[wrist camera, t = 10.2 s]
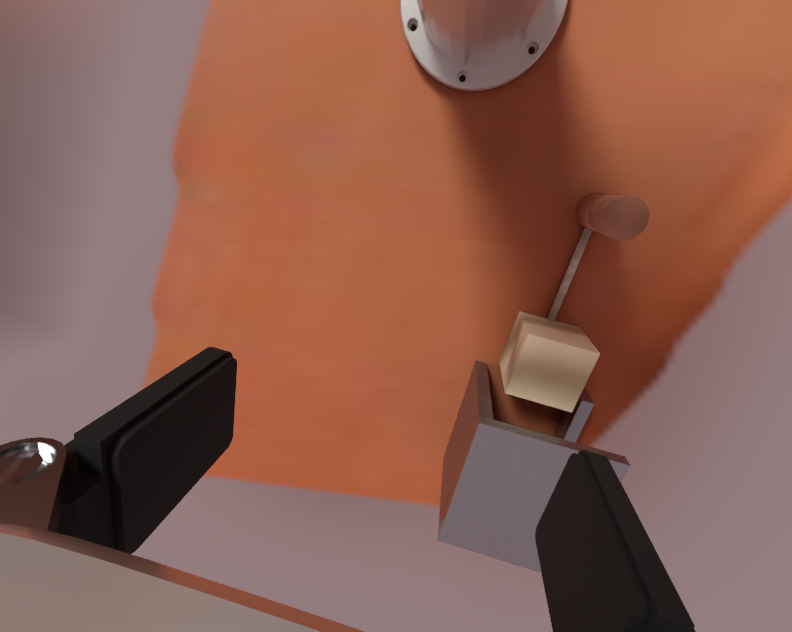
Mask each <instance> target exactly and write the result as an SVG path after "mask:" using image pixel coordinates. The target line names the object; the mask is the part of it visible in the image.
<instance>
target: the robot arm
mask: <svg viewBox="0 0 792 632" xmlns="http://www.w3.org/2000/svg"><path fill="white" fill-rule="evenodd" d="M567 3H568V0H400V12H401V20H402V24H403V29H404V34H405V36H406V39H407V42H408V44H409V46H410V48H411V50H412V52H413V54H414V56H415V58H416V60H417V61H418V62H419V63H420V65H421V66H422V67H423V68H424V70H425V71H426V72H427V73H428V74H430V75H431V76H432V77H433V78H434V79H436V80H437V81H439V82H441V83H443V84H444V85H446V86H448V87H451V88H455V89H458V90H462V91H483V90H489V89H494V88H496V87H499V86H502V85H504V84H507V83H509V82H510V81H512V80H514V79H515V78H517V77H518V76H520V75H522V74H523V73H524V72H525V71H526V70H527V69H528V68H530V67H531V66H532V65H533V64H534V63H535V62H536V61H537V60H538V58H539V57H540V56H541V55H542V53H543V52H544V51H545V50H546V49H547V47H548V45H549V44H550V42H551V40H552V39H553V37H554V36H555V34H556V31H557V29H558V27H559V25H560V23H561V21H562V19H563V16H564V13H565V9H566V6H567ZM414 25H415V26H417V29H416V30H415V31H411V28H412V26H414ZM530 48H533V49H534V54H529V53H528V50H529V49H530ZM461 76H465V78H466V79H465V81H464V82H461V81H460V80H459V78H460V77H461ZM236 373H237V361H236V359H234V358H233V356H232V353H230V352H228V351H225V350H221V349H217V348H214V347H209V348H206V349H205V350H203V351H202V352H200V353H199V354H197V355H196V356H194V357H192V358H191V359H189V360H188V361H186V362H185V363H183V364H182V365H180V366H179V367H177V368H175V369H174V370H172V371H171V372H169V373H168V374H166V375H165V376H163V377H161V378H160V379H158V380H157V381H155V382H154V383H152V384H151V385H149V386H148V387H146V388H144V389H143V390H141V391H140V392H138V393H137V394H135V395H134V396H132V397H131V398H129V399H127V400H126V401H124V402H123V403H121V404H120V405H118V406H117V407H115V408H114V409H112V410H110V411H109V412H107V413H106V414H104V415H103V416H101V417H99V418H98V419H96V420H95V421H93V422H92V423H90V424H89V425H87V426H86V427H84V428H83V429H81V430H79V431H78V432H76V433H75V434H74V440H72V441H70V442H69V443H67V444H66V445H63V444H62V443H61V442H59V441H57V440H55V439H51V438H43V437H38V438H26V439H21V440H16V441H11V442H9V443H6V444H3V445H0V632H364V631H361V630H358V629H355V628H352V627H349V626H346V625H344V624H341V623H338V622H335V621H331V620H329V619H326V618H323V617H320V616H317V615H314V614H311V613H308V612H305V611H302V610H299V609H296V608H293V607H290V606H287V605H283V604H281V603H278V602H275V601H272V600H268V599H266V598H263V597H260V596H257V595H254V594H251V593H248V592H245V591H242V590H239V589H235V588H232V587H229V586H226V585H223V584H220V583H217V582H214V581H211V580H208V579H205V578H202V577H199V576H196V575H193V574H190V573H187V572H184V571H181V570H178V569H175V568H171V567H168V566H166V565H162V564H159V563H156V562H153V561H150V560H147V559H144V558H141V557H137V556H134V555H131V554H132V553H133V552H135V551H136V550H137V549H138V548H139V547H140V546H141V544H142V543H143V542H144V541H145V540H146V539H147V538H148V537H149V536H150V534H151V533H152V532H153V531H154V530H155V529H156V528H157V526H158V525H159V524H160V523H161V522H162V521H163V520H164V518H165V517H166V516H167V515H168V514H169V513H170V512H171V511H172V510H173V509H174V508H175V506H176V505H177V504H178V503H179V502H180V501H181V500H182V498H183V497H184V496H185V495H186V494H187V493H188V491H190V490H191V488H192V487H193V486H194V485H195V484H196V483H197V482H198V481H199V479H200V478H201V477H202V476H203V475H204V474H205V473H206V472H207V470H208V469H209V468H210V467H211V466H212V465H213V464H214V463H215V462H216V460H217V459H218V458H219V457H220V456H221V455H222V454H223V453H224V451H225V450H226V449H227V448H228V447H229V445H230V443H231V441H232V437H233V425H234V408H235V391H236ZM535 541H536V547H537V552H538V557H539V562H540V567H541V572H542V577H543V582H544V587H545V593H546V598H547V603H548V608H549V613H550V618H551V623H552V628H553V632H695V630H694V624H693V622H692V620H691V618H690V616H689V614H688V612H687V610H686V608H685V606H684V605H683V603H682V601H681V599H680V597H679V595H678V593H677V591H676V589H675V587H674V585H673V583H672V581H671V579H670V577H669V575H668V574H667V572H666V570H665V568H664V566H663V564H662V562H661V560H660V558H659V556H658V554H657V552H656V551H655V548H654V546H653V544H652V543H651V541H650V539H649V537H648V535H647V533H646V531H645V529H644V527H643V525H642V523H641V521H640V520H639V517H638V515H637V514H636V512H635V510H634V508H633V506H632V504H631V502H630V500H629V498H628V496H627V494H626V493H625V490H624V489H623V486H622V485H621V483H620V481H619V479H618V477H617V475H616V473H615V471H614V469H613V467H612V465H611V463H610V461H609V459H608V458H607V457H606V456H604V455H601V454H597V453H593V452H590V451H586V450H580V451H579V452H578V454H576V453H572V454H571V455H570V457H569V459H568V461H567V463H566V465H565V467H564V469H563V472H562V474H561V476H560V478H559V480H558V482H557V484H556V486H555V489H554V491H553V493H552V495H551V497H550V499H549V501H548V503H547V506H546V508H545V510H544V512H543V514H542V516H541V518H540V520H539V522H538V525H537V527H536V532H535Z"/></svg>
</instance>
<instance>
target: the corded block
mask: <svg viewBox="0 0 792 632" xmlns="http://www.w3.org/2000/svg"><path fill="white" fill-rule="evenodd" d="M576 219H577V221H578V223H579V224H580V225H582V226H583V227H585V228H584V230H583V233H582V235H581V237H580V240H579V242H578V245H577V247H576V250H575V252H574V254H573V257H572V259H571V262H570V264H569V267H568V269H567V271H566V274H565V276H564V279H563V281H562V284H561V286H560V289H559V291H558V293H557V296H556V298H555V301H554V303H553V306H552V308H551V310H550V313H549V315H548V318H544V317H540V316H536V315H533V314H529V313H525V312H522V311H519V312H518V315H517V318H516V320H515V323H514V326H513V328H512V331H511V334H510V336H509V339H508V342H507V344H506V347H505V350H504V352H503V355H502V358H501V360H500V363H499V364H500V369H501V374H502V380H503V385H504V391H505V393H506V394H509V395H513V396H516V397H519V398H523V399H526V400H530V401H533V402H537V403H540V404H544V405H547V406H551V407H554V408H557V409H561V410H564V411H568V412H571V413H572V411H573V409H574V407H575V405H576V403H577V401H578V399H579V397H580V395H581V393H582V391H583V389H584V387H585V385H586V382H587V380H588V378H589V376H590V374H591V372H592V370H593V368H594V366H595V364H596V362H597V360H598V358H599V356H600V353H599V351H598V350H597V349H596V347H595V346H594V345H593V344H592V342H591V341H590V340H589V338H588V337H587V336H586V334H585V333H584V332H583V331H582V329H581V328H580V327H577V326H573V325H569V324H566V323H562V322H558V321H555V319H556V316H557V314H558V312H559V309H560V307H561V304H562V302H563V300H564V297H565V295H566V293H567V290H568V288H569V285H570V283H571V281H572V278H573V276H574V274H575V271H576V269H577V266H578V264H579V262H580V259H581V257H582V254H583V252H584V250H585V247H586V245H587V243H588V240H589V238H590V235H591V233H592V231H595V232H598V233H600V234H603V235H605V236H608V237H610V238H613V239H615V240H628V239H631V238H634V237H635V236H637V235H638V234H640V233H641V232H642V231H643V230H644V228H645V227H646V225H647V223H648V219H649V210H648V207H647V205H646V204H645V203H644V202H643V201H642V200H641V199H639V198H636V197H630V196H621V195H611V194H602V193H593V194H590V195H587V196H586V197H584V198H583V199H582V200H581V201H580V202H579V204H578V206H577V208H576Z"/></svg>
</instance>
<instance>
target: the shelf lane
mask: <svg viewBox="0 0 792 632" xmlns="http://www.w3.org/2000/svg"><path fill="white" fill-rule="evenodd" d="M593 406H594V402H593V400H592V399H591V397H590V395H589V394H588V392H587V390H583V391H582V393H581V395H580V397H579V399H578V401H577V403H576V405H575V407H574V409H573V411H572V413H571V412H568V411H564V413H563V415H562V417H561V419H560V422H559V424H558V426H557V428H556V430H555V433H554V435H553V436H550V435H546V434H543V433H539V432H536V431H532V430H528V429H525V428H521V427H518V426H514V425H511V424H507V423H504V422H500V421H496V420H493V411H492V403H491V394H490V386H489V377H488V369H487V364H486V363H483V362H479V361H475V364H474V367H473V370H472V373H471V376H470V379H469V382H468V385H467V388H466V391H465V394H464V398H463V401H462V404H461V407H460V410H459V413H458V416H457V419H456V422H455V425H454V428H453V431H452V434H451V437H450V440H449V443H448V446H447V449H446V452H445V455H444V461H443V474H442V487H441V500H440V513H439V514H440V515H439V527H438V540H439V541H442V542H445V543H449V544H452V545H455V546H458V547H461V548H465V549H468V550H471V551H474V552H477V553H481V554H484V555H487V556H490V557H493V558H497V559H500V560H503V561H507V562H509V563H512V564H516V565H519V566H522V567H525V568H529V569H532V570H535V571H538V572H541V567H540V562H539V557H538V552H537V547H536V541H535V532H536V527H537V525H538V522H539V520H540V518H541V516H542V514H543V512H544V510H545V508H546V506H547V503H548V501H549V499H550V497H551V495H552V493H553V491H554V489H555V486H556V484H557V482H558V480H559V478H560V476H561V474H562V472H563V469H564V467H565V465H566V463H567V461H568V459H569V457H570V455H571V454H572V453H576V454H578V452H579V451H580V450H586V451H590V452H593V453H597V454H601V455H604V456H606V457H607V458H608V459H609V461H610V463H611V465H612V467H613V469H614V471H615V473H616V475H617V477H618V479H619V481H620V483H621V481H622V479H623V478H624V476H625V474H626V472H627V470H628V469H629V467H630V464H629V463H628V461H627V459H626V458H625V457H624V456H621V455H617V454H613V453H610V452H606V451H603V450H599V449H596V448H592V447H589V446H585V445H582V444H578V443H576V441H577V439H578V437H579V435H580V433H581V431H582V429H583V427H584V425H585V422H586V420H587V418H588V416H589V414H590V412H591V410H592V408H593ZM541 573H542V572H541Z"/></svg>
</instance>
